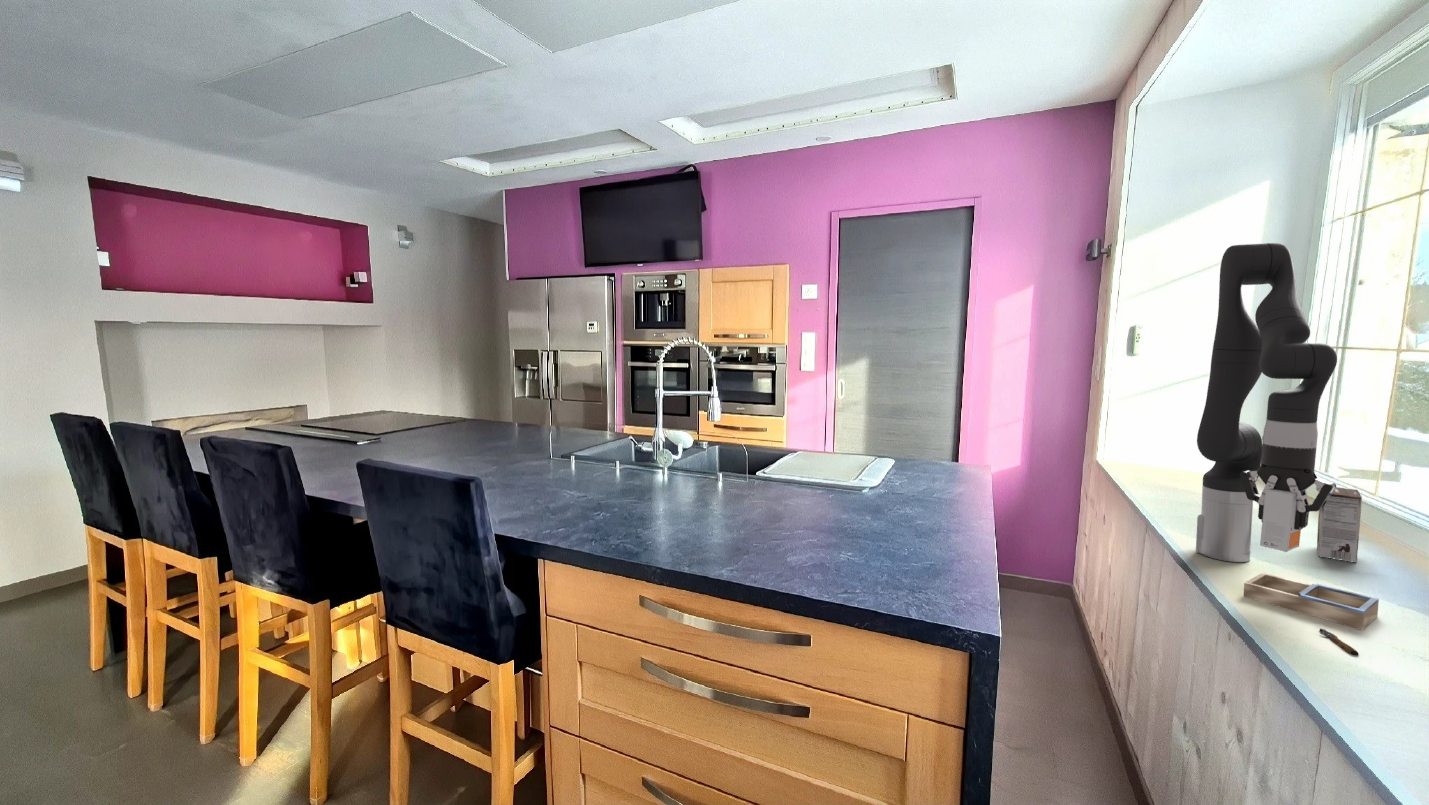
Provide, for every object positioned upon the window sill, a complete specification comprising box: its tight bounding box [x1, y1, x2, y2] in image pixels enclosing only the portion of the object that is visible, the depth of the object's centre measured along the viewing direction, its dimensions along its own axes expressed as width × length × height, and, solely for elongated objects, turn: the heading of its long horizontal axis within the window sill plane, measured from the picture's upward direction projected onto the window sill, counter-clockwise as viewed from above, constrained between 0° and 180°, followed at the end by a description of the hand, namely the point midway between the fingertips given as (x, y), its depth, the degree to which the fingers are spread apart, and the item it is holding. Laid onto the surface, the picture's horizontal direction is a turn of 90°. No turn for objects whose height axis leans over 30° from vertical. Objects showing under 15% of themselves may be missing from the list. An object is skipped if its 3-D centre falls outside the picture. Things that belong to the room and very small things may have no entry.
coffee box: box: [1316, 486, 1363, 562], centre depth 134 cm, size 9×6×16 cm
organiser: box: [1243, 572, 1380, 631], centre depth 110 cm, size 16×10×4 cm, turn 29°
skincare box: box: [1259, 489, 1302, 553], centre depth 112 cm, size 6×4×12 cm
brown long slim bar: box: [1319, 628, 1360, 657], centre depth 97 cm, size 9×2×1 cm, turn 153°
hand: (1281, 525), depth 112 cm, fingers closed on skincare box, 4 cm apart
